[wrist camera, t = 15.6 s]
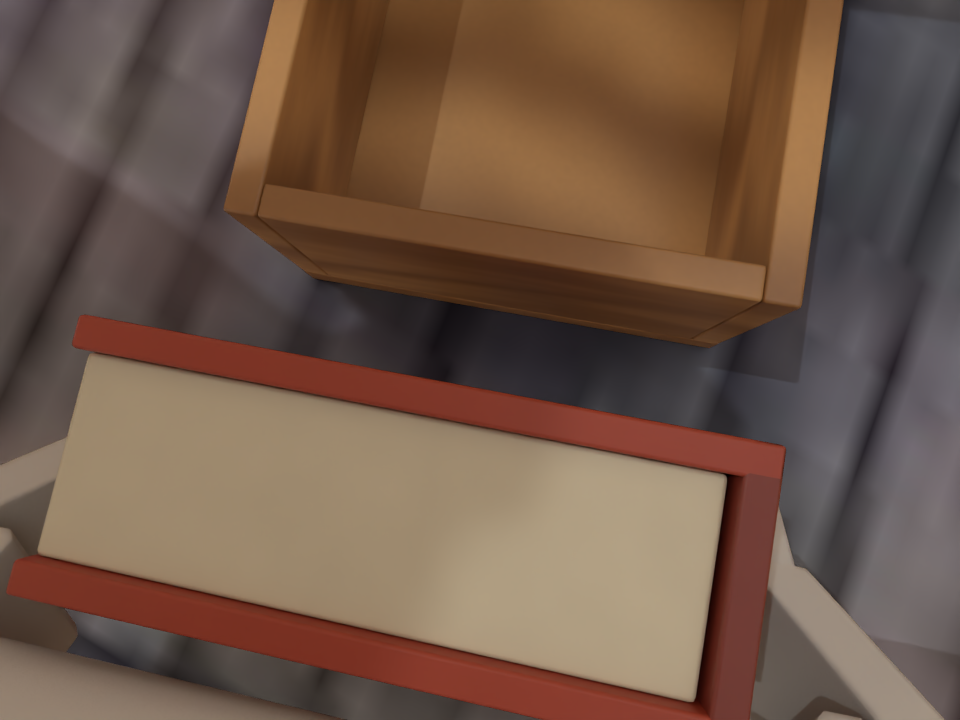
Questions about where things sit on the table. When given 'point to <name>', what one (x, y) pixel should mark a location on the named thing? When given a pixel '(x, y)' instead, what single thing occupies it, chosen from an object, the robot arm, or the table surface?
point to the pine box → (547, 154)
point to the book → (410, 529)
